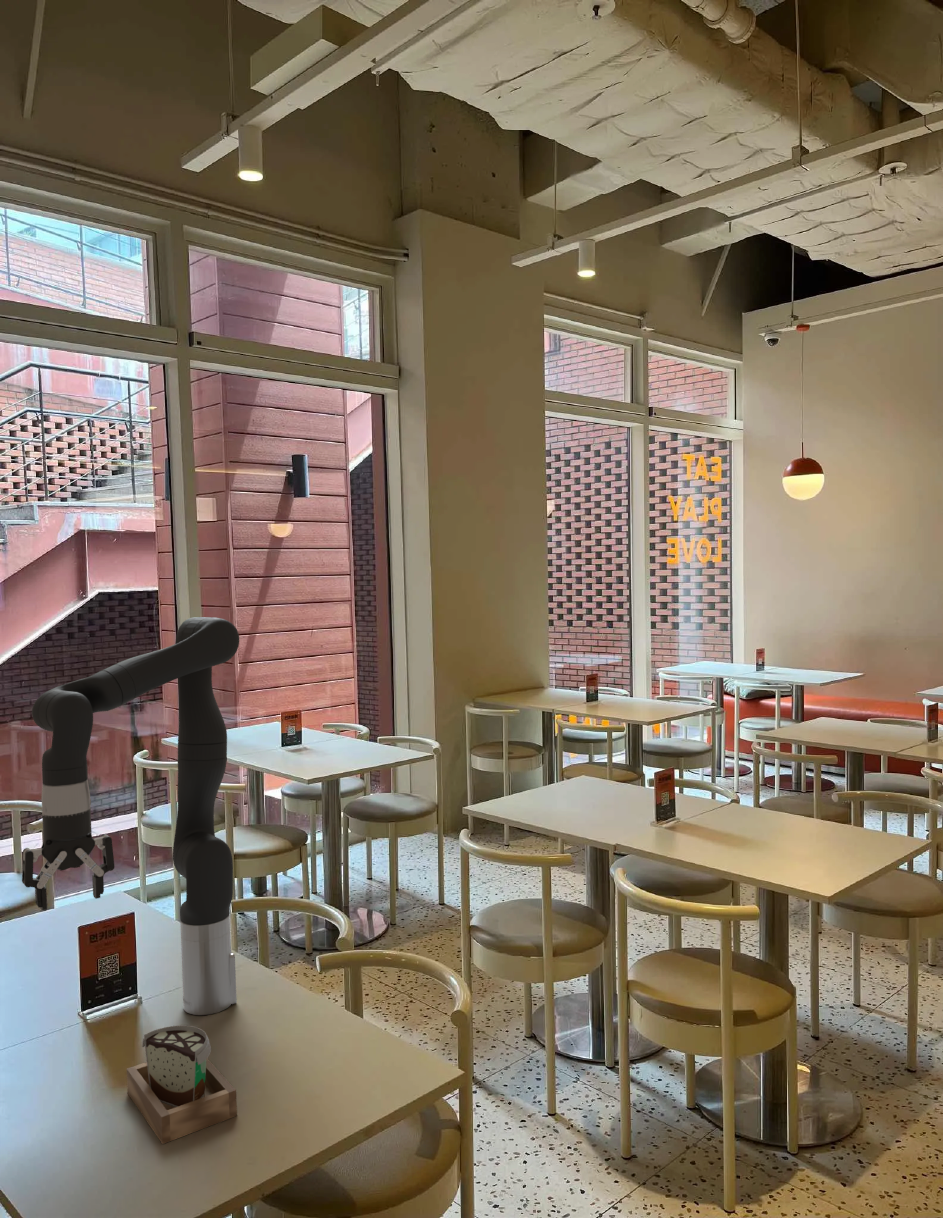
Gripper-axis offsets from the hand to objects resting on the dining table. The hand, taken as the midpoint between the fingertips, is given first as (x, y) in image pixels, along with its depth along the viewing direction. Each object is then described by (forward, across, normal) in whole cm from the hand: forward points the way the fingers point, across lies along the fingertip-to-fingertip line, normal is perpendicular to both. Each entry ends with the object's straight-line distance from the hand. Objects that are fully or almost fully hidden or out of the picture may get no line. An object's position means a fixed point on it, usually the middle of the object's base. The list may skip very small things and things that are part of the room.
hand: (70, 903), depth 157 cm
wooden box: (+28, -10, +23) cm, 38 cm away
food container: (+28, -11, +23) cm, 37 cm away
